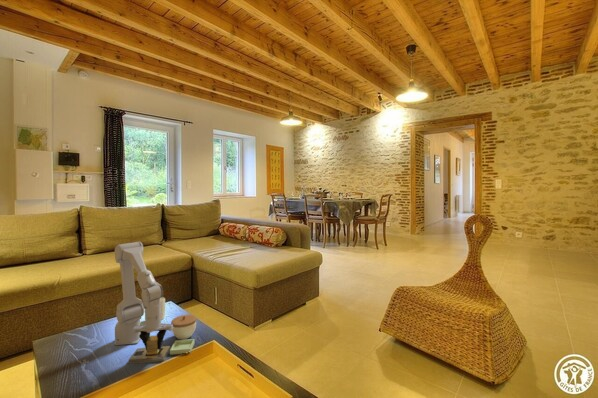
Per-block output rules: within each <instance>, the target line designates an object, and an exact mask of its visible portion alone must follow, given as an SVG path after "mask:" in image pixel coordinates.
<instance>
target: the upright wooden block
mask: <svg viewBox="0 0 598 398" xmlns="http://www.w3.org/2000/svg"><path fill="white" fill-rule="evenodd" d="M160 353H161V349H159V350H158V338H157V335H150V337H149V338H148V340H147V356H158V355H159V354H160Z"/></svg>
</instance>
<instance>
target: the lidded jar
mask: <svg viewBox="0 0 598 398" xmlns="http://www.w3.org/2000/svg"><path fill="white" fill-rule="evenodd" d="M170 324H173V329H172V331H171V332H172V333H173V335H174V337H176V338H177V340H188V339H189V338H191V337H192V335H193V334H194V333H195V332H196V327H197V316H195V315H194V314H182V315H179V316H176V317H174V318H173V319H171V322H170Z"/></svg>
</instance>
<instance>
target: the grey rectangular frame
mask: <svg viewBox="0 0 598 398" xmlns="http://www.w3.org/2000/svg"><path fill="white" fill-rule="evenodd" d="M170 349H171V346H170V345H165V346H162V347H161V353H160V354H159V355H158V356H147V350H146V348H145V347H141V348H140V347H139V348H137V349H136V350H135V351H134V352H133V354H132V355H131V356H130V358H129V359H128V364H140V363H152V362H153V363H154V362H163V361H165V360H166V359H167V356H168V355H169V354H170Z"/></svg>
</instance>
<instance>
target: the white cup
mask: <svg viewBox="0 0 598 398" xmlns="http://www.w3.org/2000/svg"><path fill="white" fill-rule="evenodd" d="M160 303H161V321H162V320H164V319H165V317H166V316H165V312H166V298H165V297H164V296H162V298H160Z"/></svg>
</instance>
